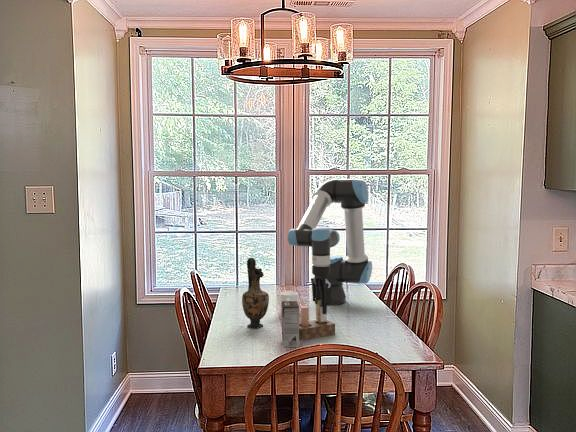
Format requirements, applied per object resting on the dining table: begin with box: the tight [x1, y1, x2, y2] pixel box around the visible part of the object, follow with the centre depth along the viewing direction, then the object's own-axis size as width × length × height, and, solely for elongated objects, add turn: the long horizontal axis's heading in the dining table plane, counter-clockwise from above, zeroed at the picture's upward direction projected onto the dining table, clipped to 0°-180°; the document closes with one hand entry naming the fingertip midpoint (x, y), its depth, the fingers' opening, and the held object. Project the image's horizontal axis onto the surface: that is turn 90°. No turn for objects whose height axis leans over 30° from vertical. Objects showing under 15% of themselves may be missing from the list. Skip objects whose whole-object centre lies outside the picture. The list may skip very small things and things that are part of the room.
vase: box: [241, 257, 270, 330], centre depth 241 cm, size 12×12×30 cm
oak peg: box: [318, 300, 325, 325], centre depth 230 cm, size 3×3×12 cm
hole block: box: [299, 319, 336, 341], centre depth 229 cm, size 16×9×4 cm, turn 118°
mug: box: [279, 290, 299, 316], centre depth 258 cm, size 12×8×10 cm
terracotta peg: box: [300, 305, 310, 327], centre depth 227 cm, size 3×3×12 cm
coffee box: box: [280, 301, 300, 348], centre depth 217 cm, size 9×6×16 cm
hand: (321, 320), depth 231 cm, fingers closed on oak peg, 3 cm apart
